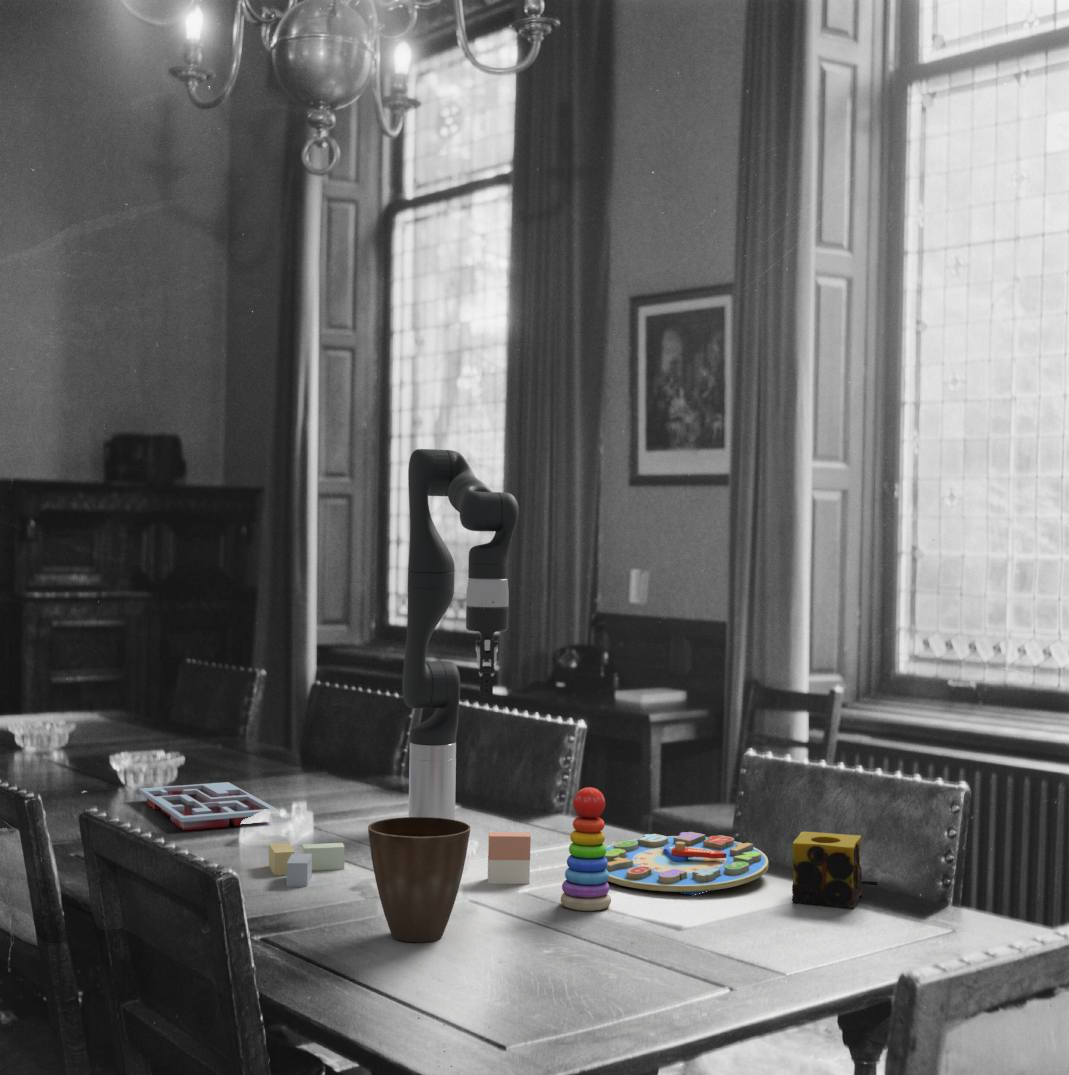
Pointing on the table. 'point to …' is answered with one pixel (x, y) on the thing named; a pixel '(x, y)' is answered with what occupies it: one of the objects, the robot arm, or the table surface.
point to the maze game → (204, 804)
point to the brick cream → (508, 871)
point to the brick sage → (326, 855)
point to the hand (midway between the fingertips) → (486, 695)
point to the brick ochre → (279, 857)
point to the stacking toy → (587, 856)
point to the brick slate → (299, 870)
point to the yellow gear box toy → (827, 869)
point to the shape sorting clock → (684, 863)
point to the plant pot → (418, 873)
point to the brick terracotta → (509, 846)
